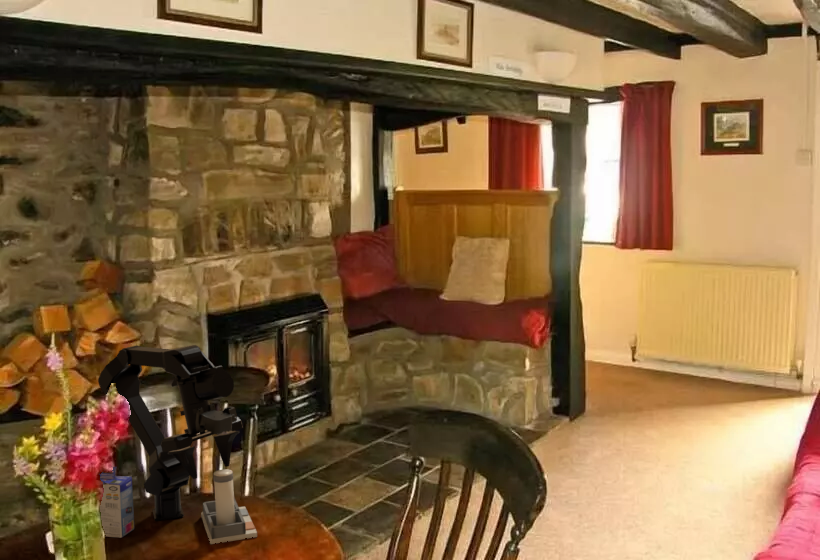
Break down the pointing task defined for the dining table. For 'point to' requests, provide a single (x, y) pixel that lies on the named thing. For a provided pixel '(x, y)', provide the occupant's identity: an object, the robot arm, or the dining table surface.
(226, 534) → the socket board
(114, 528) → the ink cartridge box
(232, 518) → the plug
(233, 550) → the dining table surface
